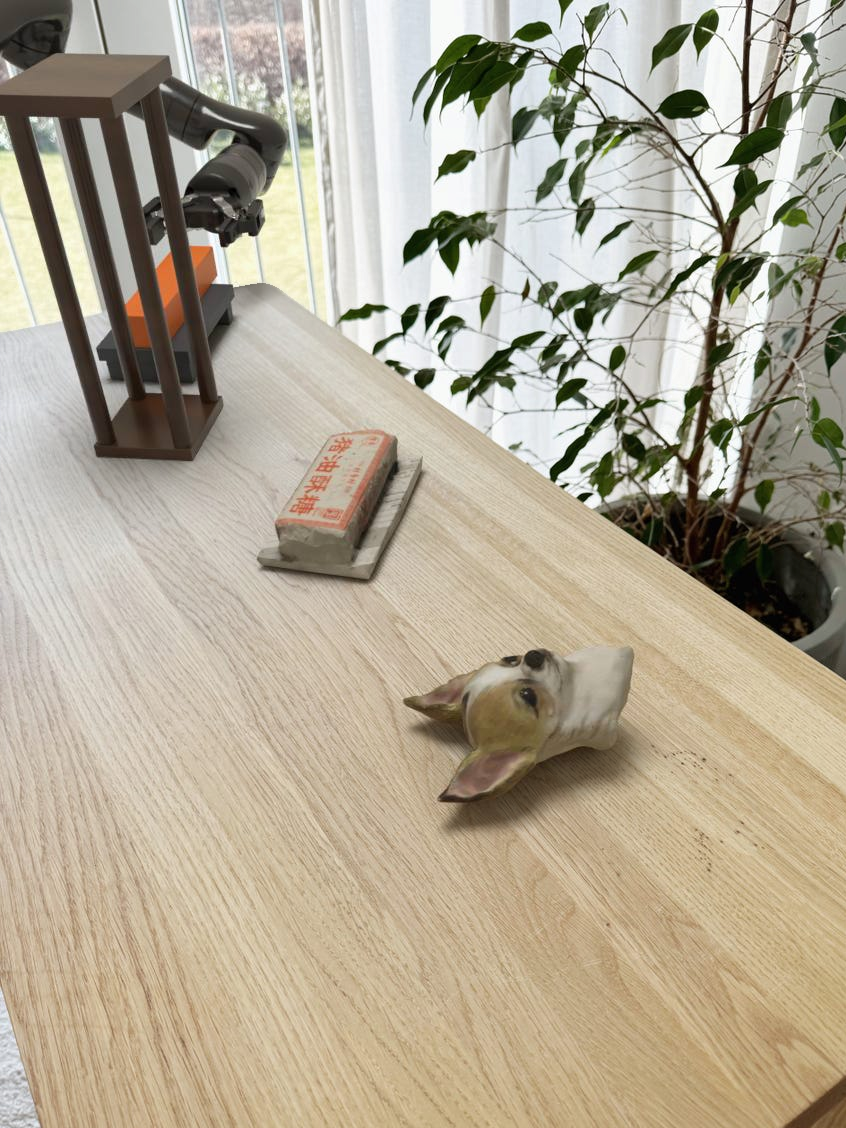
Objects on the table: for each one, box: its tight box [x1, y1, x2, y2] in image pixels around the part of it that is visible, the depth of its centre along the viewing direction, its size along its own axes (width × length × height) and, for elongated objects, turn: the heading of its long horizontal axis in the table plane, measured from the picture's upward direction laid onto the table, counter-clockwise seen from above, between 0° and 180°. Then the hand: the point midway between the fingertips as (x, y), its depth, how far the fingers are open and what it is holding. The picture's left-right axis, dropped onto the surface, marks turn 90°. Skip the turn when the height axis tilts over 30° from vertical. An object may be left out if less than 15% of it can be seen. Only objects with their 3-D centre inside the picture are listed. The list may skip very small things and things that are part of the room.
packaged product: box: [256, 428, 424, 580], centre depth 88 cm, size 18×5×10 cm
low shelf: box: [95, 283, 236, 384], centre depth 114 cm, size 18×10×4 cm, turn 175°
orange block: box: [125, 245, 218, 348], centre depth 113 cm, size 20×4×4 cm, turn 175°
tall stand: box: [0, 52, 224, 461], centre depth 91 cm, size 14×10×32 cm
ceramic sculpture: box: [402, 644, 635, 804], centre depth 66 cm, size 11×9×15 cm
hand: (185, 238), depth 117 cm, fingers open, 8 cm apart
